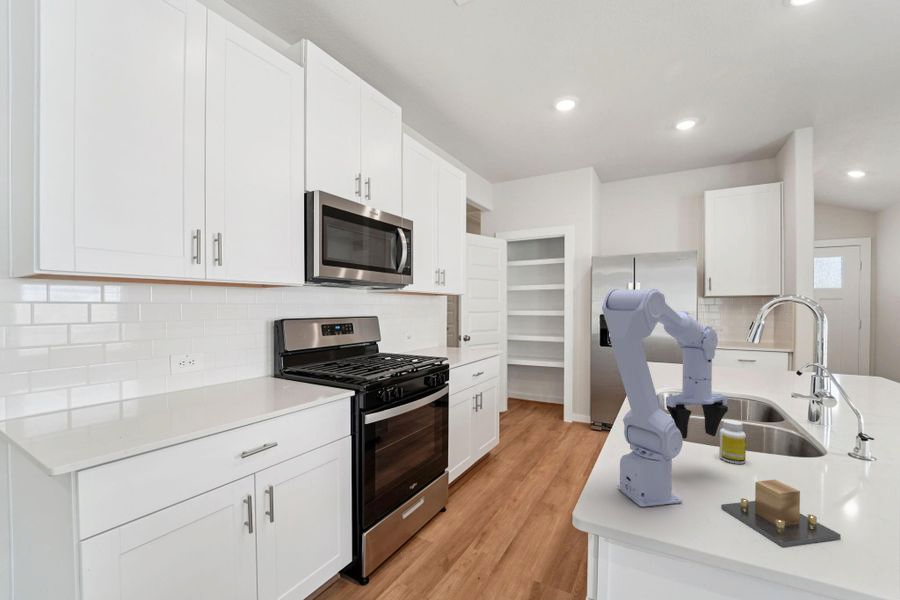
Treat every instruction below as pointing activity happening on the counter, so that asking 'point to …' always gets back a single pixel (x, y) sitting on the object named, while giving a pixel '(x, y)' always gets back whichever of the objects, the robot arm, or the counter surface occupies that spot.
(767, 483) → the oak block
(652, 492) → the robot arm
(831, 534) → the plate
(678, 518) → the counter surface
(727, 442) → the supplement bottle
